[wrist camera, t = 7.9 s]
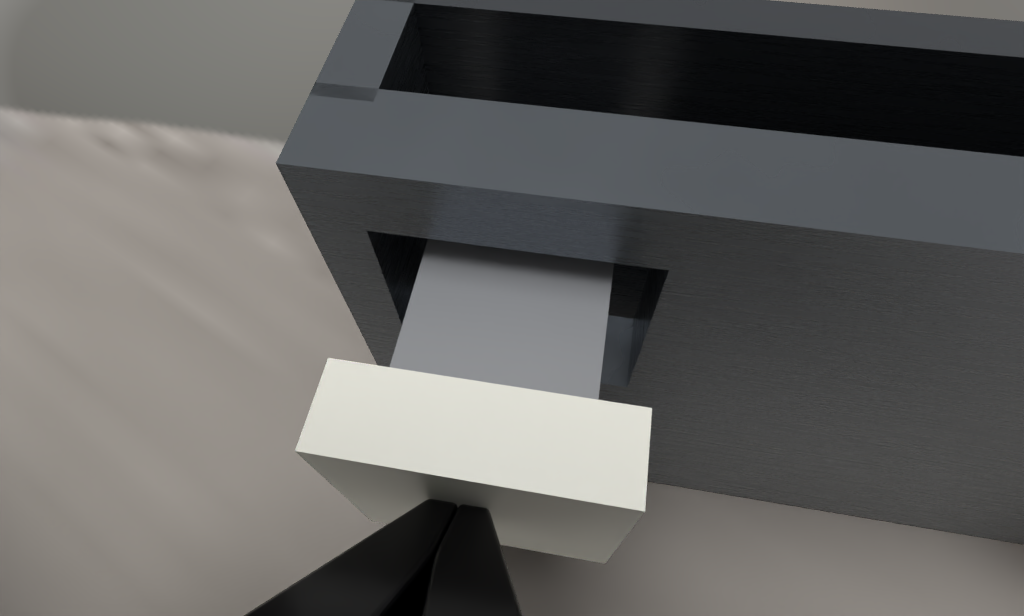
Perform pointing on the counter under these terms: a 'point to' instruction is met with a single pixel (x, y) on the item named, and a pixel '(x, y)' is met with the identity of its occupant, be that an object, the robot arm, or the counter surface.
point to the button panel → (717, 223)
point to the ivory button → (491, 406)
